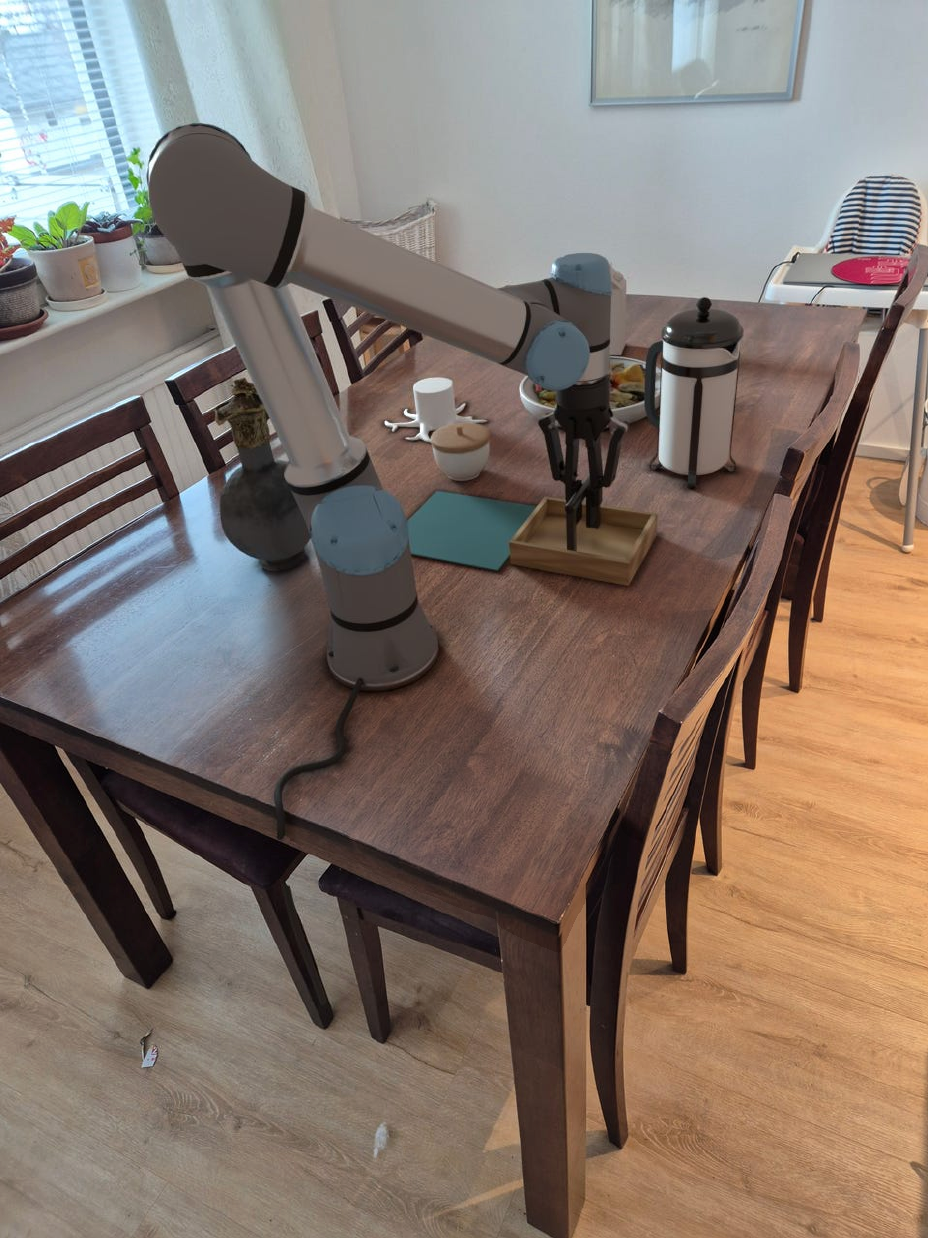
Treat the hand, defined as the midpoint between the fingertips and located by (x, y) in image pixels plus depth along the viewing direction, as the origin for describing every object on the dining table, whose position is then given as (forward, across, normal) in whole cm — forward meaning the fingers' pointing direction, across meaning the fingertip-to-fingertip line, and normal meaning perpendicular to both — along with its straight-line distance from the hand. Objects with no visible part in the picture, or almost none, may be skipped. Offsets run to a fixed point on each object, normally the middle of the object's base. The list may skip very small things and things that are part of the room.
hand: (584, 522), depth 133 cm
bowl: (+5, +17, -53) cm, 56 cm away
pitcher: (+5, +46, +16) cm, 49 cm away
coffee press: (+5, -8, -31) cm, 32 cm away
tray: (+5, 0, 0) cm, 5 cm away
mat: (+5, +21, 0) cm, 22 cm away
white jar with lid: (+5, +30, -18) cm, 35 cm away
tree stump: (+5, +46, -37) cm, 59 cm away
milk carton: (+5, +24, -84) cm, 88 cm away
